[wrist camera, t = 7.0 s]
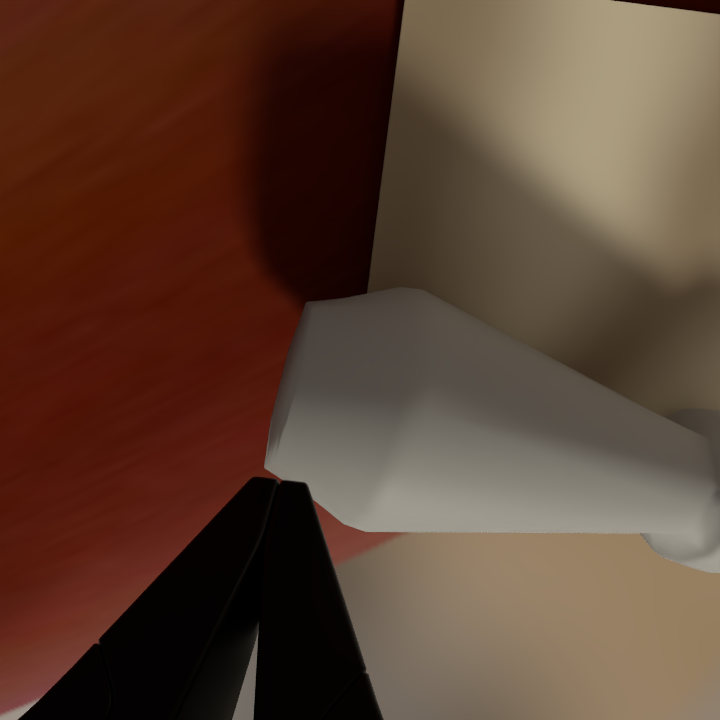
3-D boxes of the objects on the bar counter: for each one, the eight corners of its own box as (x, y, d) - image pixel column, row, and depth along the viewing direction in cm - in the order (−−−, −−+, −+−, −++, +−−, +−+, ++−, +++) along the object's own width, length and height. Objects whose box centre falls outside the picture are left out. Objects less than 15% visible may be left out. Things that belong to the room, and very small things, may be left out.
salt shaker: (332, 211, 14) (784, 353, 17) (277, 367, 18) (648, 461, 21) (307, 409, 10) (904, 553, 13) (242, 553, 14) (708, 640, 17)
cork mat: (344, 469, 20) (343, 480, 20) (407, -26, 13) (407, -26, 13) (758, 516, 21) (765, 528, 20) (1050, 57, 13) (1072, 59, 13)
